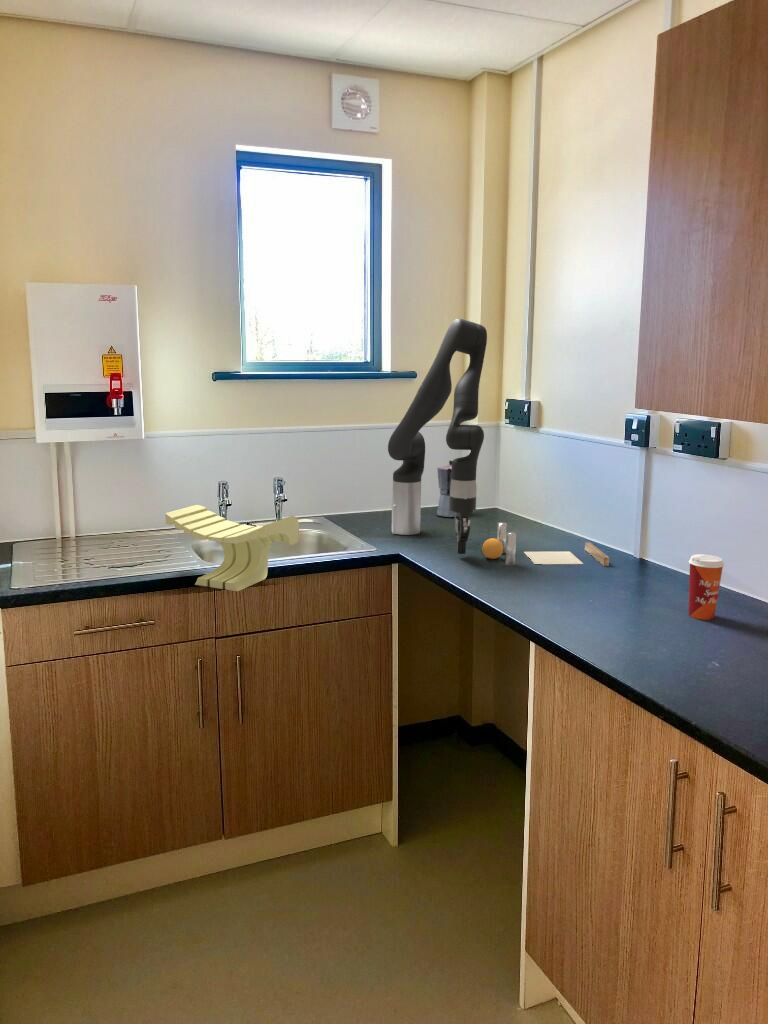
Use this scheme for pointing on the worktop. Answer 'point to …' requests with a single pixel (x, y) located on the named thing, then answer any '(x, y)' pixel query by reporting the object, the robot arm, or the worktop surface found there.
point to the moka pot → (445, 491)
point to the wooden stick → (597, 554)
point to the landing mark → (553, 558)
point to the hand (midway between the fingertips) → (461, 553)
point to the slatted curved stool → (234, 544)
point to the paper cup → (704, 585)
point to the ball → (492, 548)
